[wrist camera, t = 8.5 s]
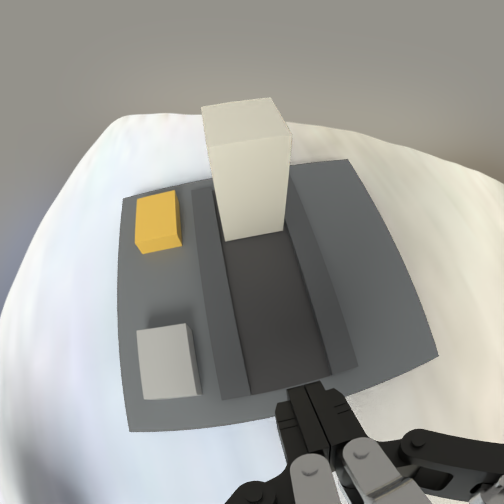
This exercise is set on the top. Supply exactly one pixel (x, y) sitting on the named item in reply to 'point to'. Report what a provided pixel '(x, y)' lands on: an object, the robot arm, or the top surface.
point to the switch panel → (259, 302)
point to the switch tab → (248, 165)
